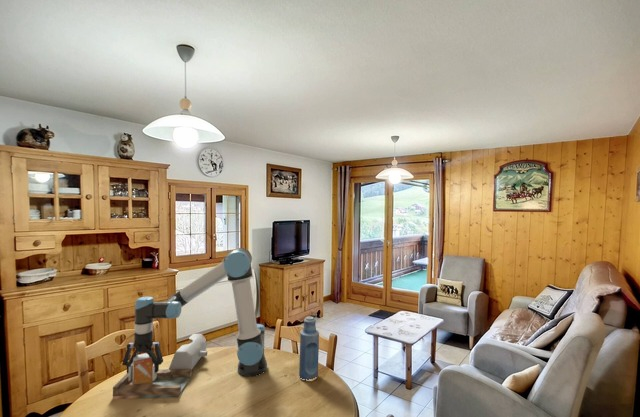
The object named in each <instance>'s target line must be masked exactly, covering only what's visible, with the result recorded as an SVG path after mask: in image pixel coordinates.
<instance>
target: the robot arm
mask: <svg viewBox="0 0 640 417" xmlns="http://www.w3.org/2000/svg"><path fill="white" fill-rule="evenodd" d="M252 262H253V257H252V253H251V251H249V250H248V249H246V248H245V247H237V248H235V249H234V250H232V251H230V252H228V254H227V255H226V256H225V257H224V258H223V259H222V261H221V263H219V264H217V265H216V266H215V267H212V268H211V269H210V270H208V271H206V272H204V274H202V275H201V276H199V277H198V278H196V279H195V280H193V281H192V282H190V283H189V284H188V285H186V286H185V287H183V288H181V289H180V290H179V291H177V292H176V293H173V294H172V295H171V296H170V297H169V298H167V299H166V300H165V301H155V300H154V297H153V296H142V297H139V298H137V299H136V300H135V304H134V305H135V306H134V334H133V336H134V341H133V342H132V341H130V342H129V343H127V344H126V351H125V354H124V357H123V361H122V366H126V374H127V373H129V378H128V381H131V380H132V371H133V358H134V357H135V356H136V355H139V353H147V354H148V355H149V357H151V358H152V362H153V372H152V381H154V380H155V379H156V376H157V372H158V370H159V369H160V368H159V366H160V365H162V363H163V362H164V359H163V354H162V351H161V347H160V344H161V343H160V341H157V342H155V341H154V340H153V339H154V331H153V329H154V319H156V320H157V319H158V320H159V319H177V318H180V315H181V313H182V308H183V307H184V306H186V305H187V304H188V303H190V302H191V301H193V300H195V298H197V297H199V296H200V295H201V294H203V293H205V292H206V291H207V290H210V289H211V288H212V287H214V286H215V285H217V284H218V283H220V282H221V281H222V280H224V279H225V278H227V281H228V282H229V283H230V284H231V285H232V292H233V301H234V307H235V313H236V314H235V315H236V319H237V327H238V332H237V334H236V344H237V352H236V355H237V359H238V365H237V373H238V374H240V375H242V376H243V377H256V375H257V376H260V375H262V373H263V372H264V373H265V372H267V370H268V363H267V362H268V361H267V358H266V356H265V333H266V328H265V326H264V324H261V323H257V317H256V311H255V304H254V298H253V291H252V284H251V279H252V277H253V269H252ZM133 347H134V348H135V349H134V352H133V353H132V349H133ZM152 347H153V348H154V350H153V348H152ZM131 353H132V355H131ZM266 369H267V370H266ZM264 373H263V374H264ZM259 374H260V375H259Z"/></svg>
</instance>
